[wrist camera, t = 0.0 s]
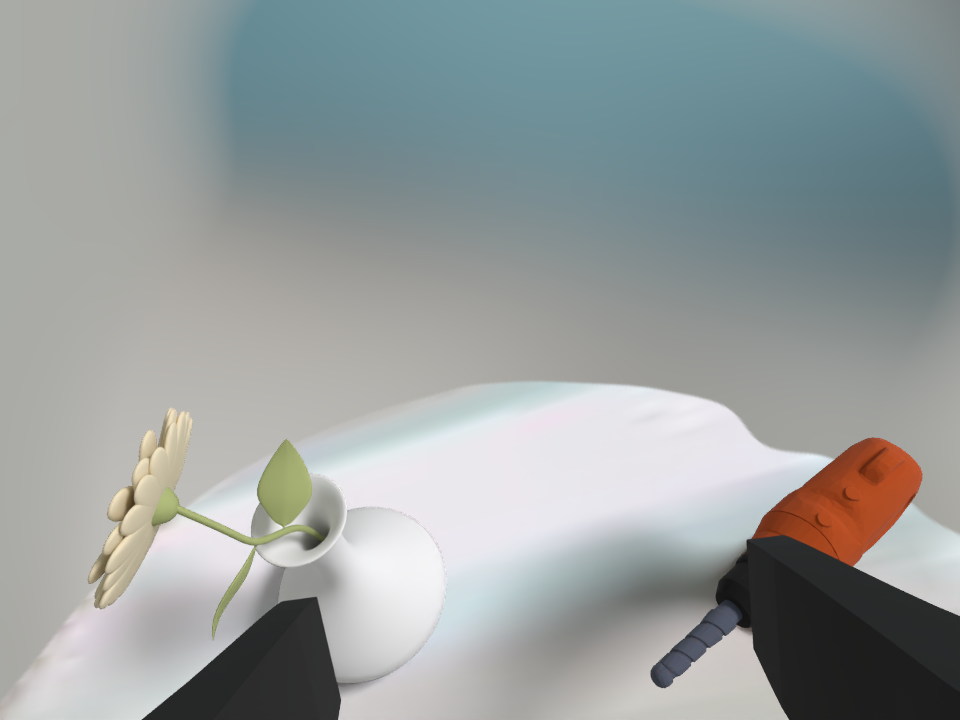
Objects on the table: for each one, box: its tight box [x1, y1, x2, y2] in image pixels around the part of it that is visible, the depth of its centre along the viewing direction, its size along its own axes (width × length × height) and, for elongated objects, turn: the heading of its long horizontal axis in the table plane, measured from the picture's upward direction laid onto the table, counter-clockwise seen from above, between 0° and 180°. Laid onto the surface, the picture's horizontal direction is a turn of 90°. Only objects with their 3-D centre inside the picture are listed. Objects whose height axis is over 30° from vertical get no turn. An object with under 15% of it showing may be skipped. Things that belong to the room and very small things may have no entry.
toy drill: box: [651, 438, 922, 688], centre depth 33 cm, size 5×19×15 cm, turn 127°
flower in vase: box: [88, 407, 447, 683], centre depth 33 cm, size 13×11×25 cm
